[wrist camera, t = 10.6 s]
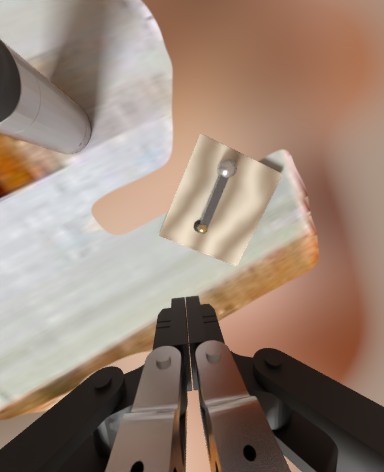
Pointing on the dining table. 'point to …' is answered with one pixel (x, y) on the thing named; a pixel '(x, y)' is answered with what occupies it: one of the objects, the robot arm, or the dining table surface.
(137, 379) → the robot arm
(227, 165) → the leg
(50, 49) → the dining table surface
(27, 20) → the dining table surface
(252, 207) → the hole board
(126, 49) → the dining table surface
